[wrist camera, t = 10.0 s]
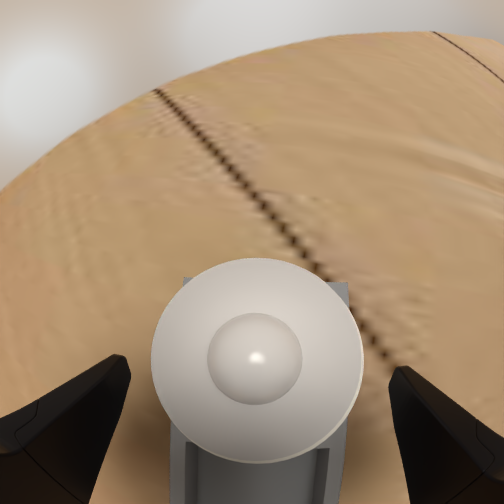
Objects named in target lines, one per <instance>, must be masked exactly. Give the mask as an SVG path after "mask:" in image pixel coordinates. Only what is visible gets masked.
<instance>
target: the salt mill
mask: <svg viewBox="0 0 504 504" xmlns="http://www.w3.org/2000/svg"><path fill="white" fill-rule="evenodd" d="M363 366H364V355H363V347H362V341H361V337H360V333H359V330H358V327H357V325H356V322H355V320H354V318H353V316H352V314H351V313H350V311H349V309H348V307H347V306H346V305H345V303H344V302H343V301H342V299H341V298H340V297H339V296H338V295H337V293H336V292H335V291H334V290H333V289H332V288H331V287H330V286H329V285H328V284H326V283H325V282H324V281H323V280H321V279H320V278H319V277H317V276H316V275H314V274H312V273H311V272H309V271H307V270H306V269H303V268H301V267H299V266H296V265H294V264H291V263H288V262H284V261H281V260H275V259H269V258H246V259H238V260H233V261H229V262H225V263H222V264H219V265H216V266H214V267H212V268H210V269H208V270H206V271H204V272H202V273H201V274H199V275H197V276H196V277H194V278H193V279H192V280H190V281H189V282H188V283H187V284H186V285H184V286H183V287H182V288H181V289H180V290H179V291H178V292H177V293H176V294H175V296H174V297H173V298H172V300H171V301H170V302H169V304H168V305H167V306H166V308H165V310H164V312H163V314H162V315H161V317H160V320H159V322H158V325H157V327H156V330H155V334H154V338H153V342H152V350H151V370H152V377H153V382H154V386H155V389H156V392H157V395H158V397H159V400H160V402H161V404H162V406H163V408H164V410H165V411H166V413H167V414H168V416H169V417H170V419H171V421H172V422H173V423H174V424H175V425H176V427H177V428H178V429H179V430H180V431H181V432H182V433H183V434H184V435H185V436H186V437H187V438H188V439H189V440H191V441H192V442H193V443H195V444H196V445H198V446H199V447H201V448H202V449H204V450H206V451H208V452H210V453H212V454H214V455H216V456H219V457H222V458H225V459H228V460H231V461H236V462H241V463H252V464H263V463H274V462H279V461H284V460H288V459H291V458H294V457H297V456H299V455H302V454H304V453H306V452H308V451H310V450H312V449H313V448H315V447H316V446H318V445H319V444H321V443H322V442H324V441H325V440H326V439H327V438H328V437H329V436H331V435H332V434H333V433H334V432H335V431H336V430H337V429H338V427H339V426H340V425H341V424H342V423H343V421H344V420H345V419H346V417H347V416H348V414H349V412H350V411H351V409H352V407H353V405H354V403H355V401H356V398H357V396H358V393H359V389H360V386H361V382H362V376H363Z"/></svg>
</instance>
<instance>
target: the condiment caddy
mask: <svg viewBox="0 0 504 504" xmlns="http://www.w3.org/2000/svg"><path fill="white" fill-rule="evenodd" d="M192 279H193V278H187V277H184V281H183V286H184V285H186V284H187V283H188V282H189V281H190V280H192ZM325 283H326V284H328V285H329V286H330V287H331V288H332V289H333V290H334V291H335V292H336V293H337V295H338V296H339V297H340V298H341V299H342V301H343V302H344V303H345V305H346V306H347V307H348V309H349V299H348V283H337V282H325ZM347 420H348V416H347V417H346V419H345V420H344V421H343V423H342V424H341V425H340V426H339V427H338V429H337V430H336V431H335V432H334V433H333V434H332V435H331V436H329V437H328V438H327V439H326V440H325V441H324V442H322V443H321V444H319V445H318V446H316V447H315V448H313V449H312V450H310V451H308V452H306V453H304V454H302V455H299V456H297V457H294V458H291V459H288V460H284V461H279V462H274V463H263V464H252V463H241V462H236V461H231V460H228V459H225V458H222V457H219V456H216V455H214V454H212V453H210V452H208V451H206V450H204V449H202V448H201V447H199V446H198V445H196V444H195V443H193V442H192V441H191V440H189V439H188V438H187V437H186V436H185V435H184V434H183V433H182V432H181V431H180V430H179V429H178V428H177V427H176V425H175V424H174V423H173V422H172V421H171V432H170V504H338V503H339V496H340V489H341V482H342V474H343V466H344V456H345V446H346V434H347Z"/></svg>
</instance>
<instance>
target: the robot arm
mask: <svg viewBox="0 0 504 504" xmlns="http://www.w3.org/2000/svg"><path fill="white" fill-rule="evenodd" d="M130 380H131V372H130V369H129V366H128V363H127V360H126V358H125V356H123V355H118V354H113V355H111V356H109V357H108V358H106V359H104V360H103V361H101V362H99V363H98V364H96V365H94V366H93V367H91V368H89V369H88V370H86V371H84V372H83V373H81V374H79V375H78V376H76V377H74V378H73V379H71V380H69V381H68V382H66V383H64V384H63V385H61V386H59V387H57V388H56V389H54V390H52V391H51V392H49V393H47V394H46V395H44V396H42V397H40V398H39V399H37V400H35V401H34V402H32V403H30V404H28V405H26V406H25V407H23V408H21V409H19V410H17V411H15V412H13V413H11V414H8V415H6V416H4V417H2V418H0V504H89V501H90V498H91V495H92V492H93V489H94V486H95V483H96V480H97V477H98V474H99V471H100V469H101V466H102V463H103V460H104V457H105V455H106V452H107V449H108V447H109V444H110V441H111V439H112V436H113V433H114V431H115V428H116V426H117V423H118V421H119V418H120V415H121V412H122V409H123V405H124V401H125V398H126V394H127V390H128V387H129V383H130ZM388 388H389V396H390V402H391V409H392V416H393V423H394V429H395V433H396V437H397V441H398V445H399V450H400V454H401V459H402V463H403V468H404V473H405V478H406V483H407V488H408V493H409V499H410V504H504V438H503V437H502V436H500V435H499V434H497V433H496V432H494V431H493V430H491V429H490V428H489V427H487V426H486V425H484V424H483V423H482V422H481V421H479V420H478V419H476V418H475V417H474V416H473V415H471V414H470V413H469V412H468V411H466V410H465V409H464V408H462V407H461V406H460V405H458V404H457V403H456V402H455V401H453V400H452V399H451V398H449V397H448V396H447V395H446V394H444V393H443V392H442V391H440V390H439V389H438V388H436V387H435V386H434V385H433V384H431V383H430V382H429V381H427V380H426V379H425V378H423V377H422V376H421V375H420V374H418V373H417V372H416V371H414V370H413V369H412V368H410V367H409V366H398V367H396V368H395V370H394V373H393V375H392V378H391V380H390V382H389V387H388Z"/></svg>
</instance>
